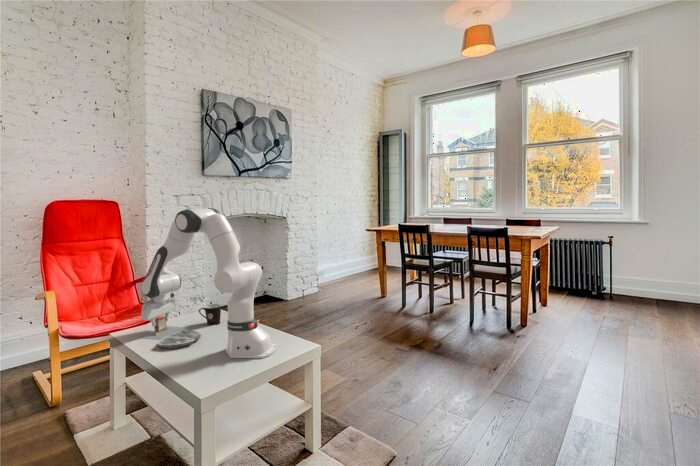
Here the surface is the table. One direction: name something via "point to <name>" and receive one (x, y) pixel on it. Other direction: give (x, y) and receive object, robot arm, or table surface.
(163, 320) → the walnut block
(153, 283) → the robot arm
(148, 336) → the rubber mat
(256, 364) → the table surface
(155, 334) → the birch strip
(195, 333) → the brain slice
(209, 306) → the coffee mug
